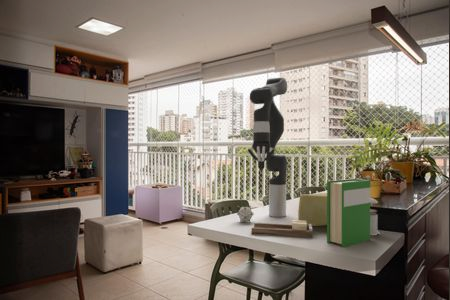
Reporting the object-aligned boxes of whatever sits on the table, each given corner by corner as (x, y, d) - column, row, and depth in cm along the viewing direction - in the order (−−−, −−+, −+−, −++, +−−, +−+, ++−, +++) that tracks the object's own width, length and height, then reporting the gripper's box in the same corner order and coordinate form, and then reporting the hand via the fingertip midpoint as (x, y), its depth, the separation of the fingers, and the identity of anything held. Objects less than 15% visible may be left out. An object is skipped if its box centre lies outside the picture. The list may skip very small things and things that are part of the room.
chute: (254, 228, 145) (254, 220, 145) (311, 231, 140) (311, 223, 140) (251, 234, 135) (251, 225, 135) (312, 237, 130) (312, 229, 130)
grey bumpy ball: (247, 228, 159) (258, 211, 162) (247, 226, 152) (258, 208, 154) (232, 218, 162) (243, 202, 164) (231, 216, 154) (242, 199, 156)
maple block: (292, 229, 139) (292, 220, 139) (306, 229, 138) (306, 220, 138) (292, 232, 134) (292, 223, 134) (306, 233, 132) (306, 223, 132)
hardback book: (343, 247, 117) (343, 182, 117) (326, 242, 123) (327, 181, 123) (370, 239, 127) (370, 180, 127) (353, 235, 133) (353, 178, 133)
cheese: (305, 229, 144) (305, 196, 144) (293, 224, 153) (293, 193, 153) (344, 225, 152) (344, 194, 152) (330, 221, 161) (331, 191, 161)
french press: (366, 235, 133) (366, 176, 133) (348, 229, 144) (348, 174, 144) (385, 234, 135) (385, 176, 135) (366, 227, 146) (366, 174, 146)
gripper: (276, 132, 148) (276, 169, 148) (248, 132, 150) (248, 168, 150) (275, 131, 140) (275, 170, 140) (246, 131, 143) (245, 169, 143)
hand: (261, 169), depth 145 cm, fingers closed
